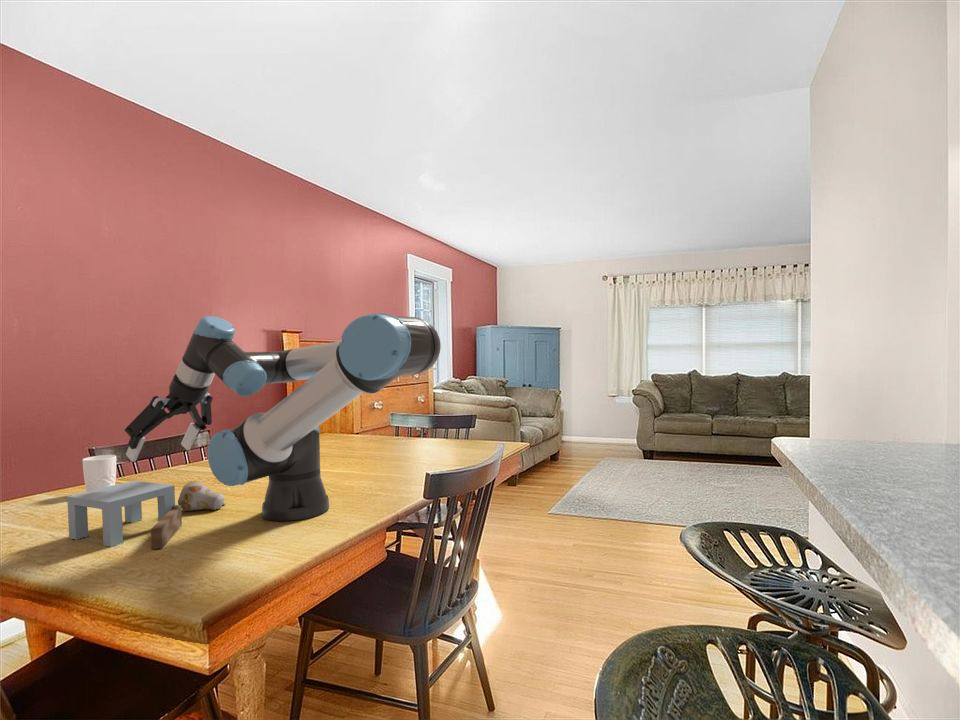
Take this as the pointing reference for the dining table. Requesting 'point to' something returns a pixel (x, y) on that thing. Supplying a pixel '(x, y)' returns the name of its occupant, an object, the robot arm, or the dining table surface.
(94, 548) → the dining table surface
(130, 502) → the stool
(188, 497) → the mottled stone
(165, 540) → the brown wooden plank
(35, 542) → the dining table surface
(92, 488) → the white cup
